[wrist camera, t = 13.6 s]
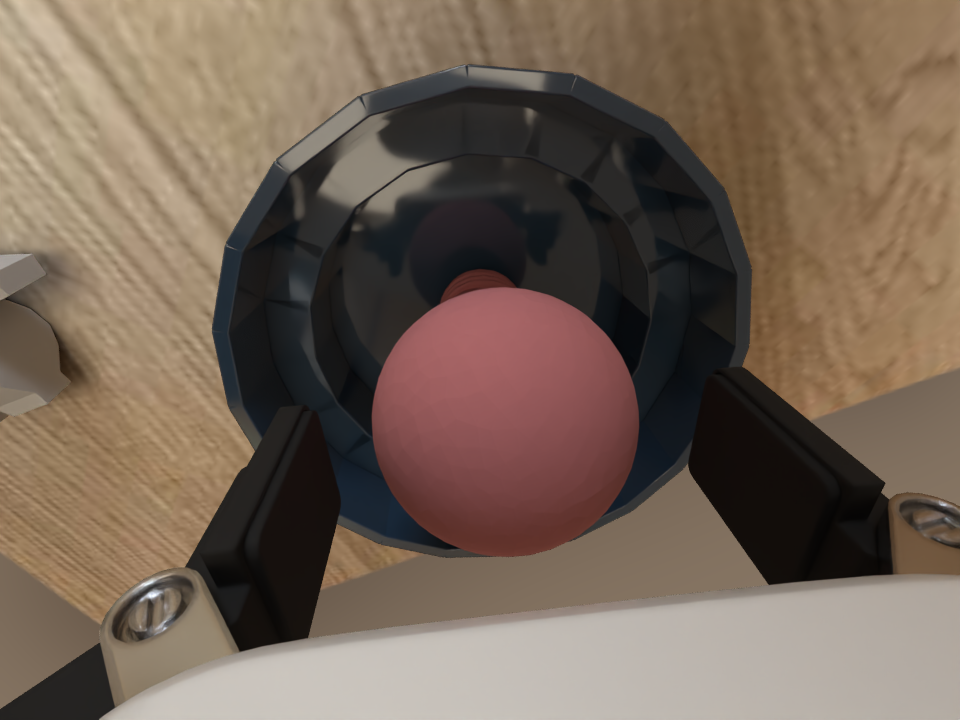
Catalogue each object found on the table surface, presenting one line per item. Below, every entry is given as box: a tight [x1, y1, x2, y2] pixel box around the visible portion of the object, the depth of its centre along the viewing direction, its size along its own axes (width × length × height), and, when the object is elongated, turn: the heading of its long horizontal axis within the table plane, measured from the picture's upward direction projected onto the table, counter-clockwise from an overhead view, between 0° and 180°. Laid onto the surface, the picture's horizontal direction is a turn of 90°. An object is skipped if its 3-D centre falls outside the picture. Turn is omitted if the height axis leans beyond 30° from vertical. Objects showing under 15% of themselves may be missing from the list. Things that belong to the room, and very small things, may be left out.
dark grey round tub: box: [212, 64, 752, 558], centre depth 18 cm, size 17×17×6 cm
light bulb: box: [372, 269, 639, 557], centre depth 15 cm, size 7×7×12 cm
